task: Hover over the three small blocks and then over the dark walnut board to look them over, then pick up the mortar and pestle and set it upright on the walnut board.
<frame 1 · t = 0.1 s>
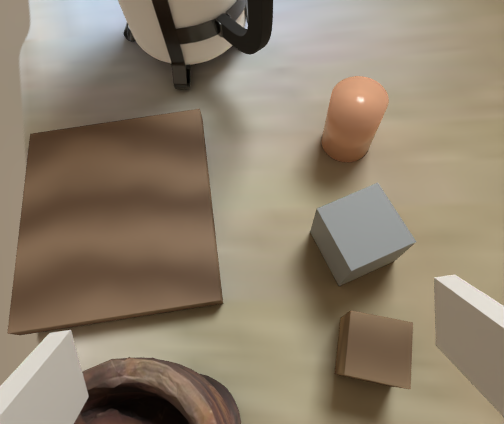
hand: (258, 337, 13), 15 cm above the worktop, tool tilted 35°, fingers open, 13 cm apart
walnut board: (121, 214, 32), on the worktop
slate grey cube: (351, 246, 30), on the worktop
dark oak block: (364, 350, 27), on the worktop
coffee press: (203, 44, 40), on the worktop
terracotta capsule: (345, 141, 34), on the worktop
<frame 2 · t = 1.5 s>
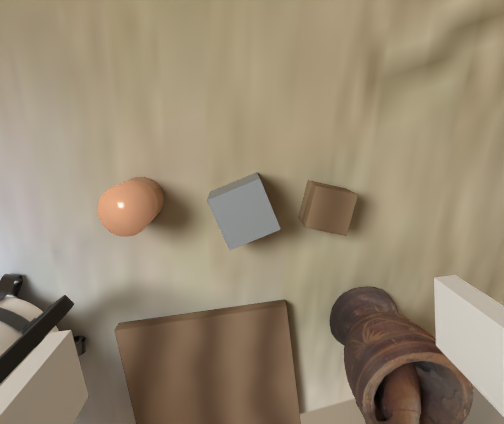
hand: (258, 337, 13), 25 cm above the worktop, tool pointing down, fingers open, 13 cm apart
walnut board: (213, 375, 41), on the worktop
slate grey cube: (243, 204, 38), on the worktop
dark oak block: (321, 203, 38), on the worktop
coffee press: (24, 326, 39), on the worktop
mortar and pestle: (359, 329, 41), on the worktop
terracotta capsule: (141, 198, 37), on the worktop
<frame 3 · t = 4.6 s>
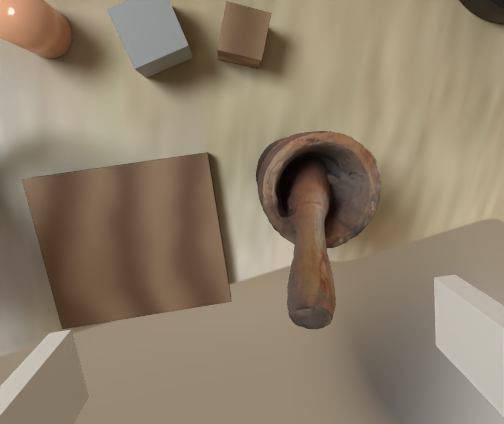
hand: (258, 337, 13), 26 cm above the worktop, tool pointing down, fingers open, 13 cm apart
walnut board: (135, 239, 39), on the worktop
slate grey cube: (158, 42, 36), on the worktop
dark oak block: (241, 43, 36), on the worktop
mortar and pestle: (289, 188, 39), on the worktop
terracotta capsule: (47, 33, 35), on the worktop
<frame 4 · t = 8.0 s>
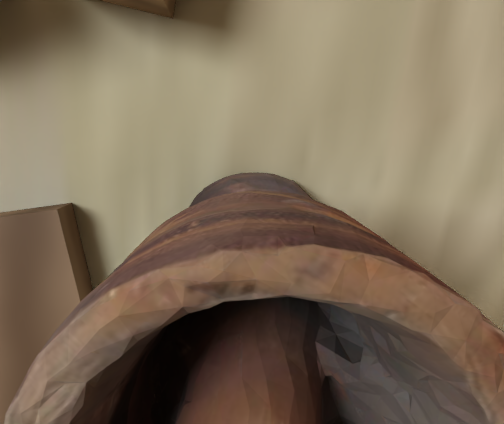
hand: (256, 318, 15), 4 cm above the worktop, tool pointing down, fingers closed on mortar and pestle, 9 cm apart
mortar and pestle: (251, 275, 19), on the worktop, touching gripper
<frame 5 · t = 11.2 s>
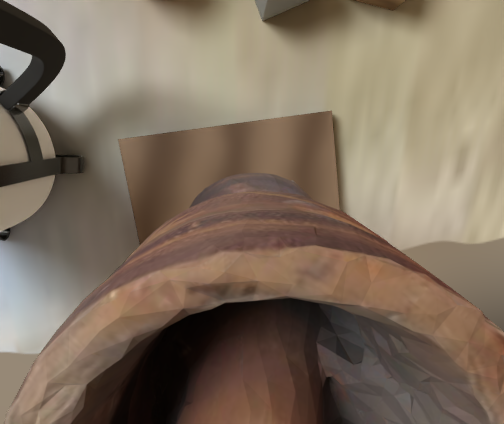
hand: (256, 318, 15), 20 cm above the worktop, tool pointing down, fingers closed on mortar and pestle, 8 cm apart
walnut board: (238, 213, 34), on the worktop
coffee press: (8, 142, 32), on the worktop
mortar and pestle: (251, 275, 19), point 15 cm above the worktop, touching gripper
when the fingers open (7 cm above the worktop, at t = 14.5 s): mortar and pestle drops 1 cm, resting on walnut board.
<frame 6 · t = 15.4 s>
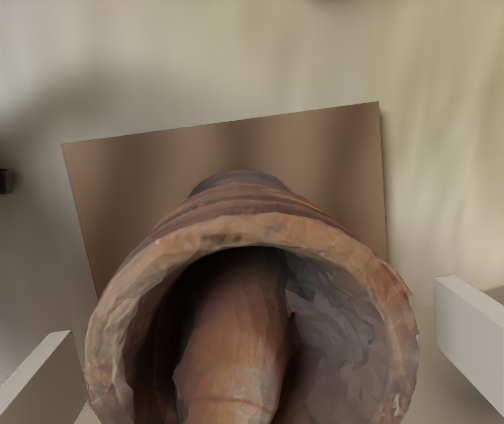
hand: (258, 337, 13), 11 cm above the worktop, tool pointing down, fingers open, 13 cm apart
walnut board: (240, 249, 24), on the worktop
mortar and pestle: (239, 255, 23), point 1 cm above the worktop, touching walnut board
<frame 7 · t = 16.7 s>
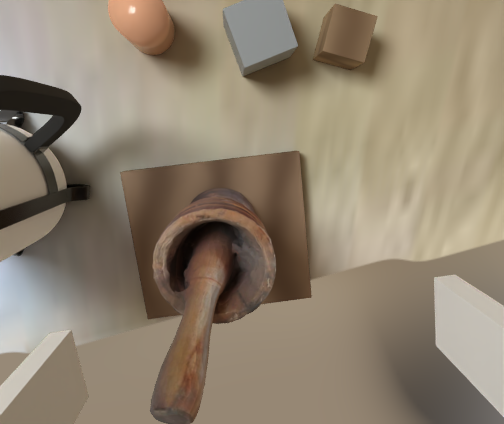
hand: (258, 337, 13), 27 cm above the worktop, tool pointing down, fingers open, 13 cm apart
walnut board: (221, 234, 40), on the worktop
slate grey cube: (256, 42, 36), on the worktop
dark oak block: (337, 44, 37), on the worktop
coffee press: (24, 172, 38), on the worktop
mortar and pestle: (219, 237, 39), point 1 cm above the worktop, touching walnut board
terracotta capsule: (151, 30, 35), on the worktop
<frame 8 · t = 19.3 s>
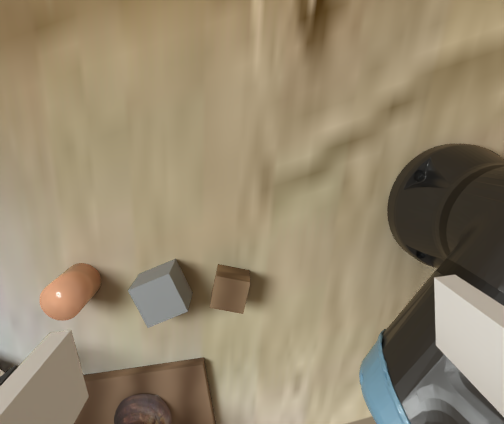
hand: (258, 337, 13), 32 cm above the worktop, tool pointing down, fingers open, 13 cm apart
walnut board: (147, 418, 50), on the worktop
slate grey cube: (166, 283, 46), on the worktop
dark oak block: (230, 281, 47), on the worktop
terracotta capsule: (83, 280, 46), on the worktop
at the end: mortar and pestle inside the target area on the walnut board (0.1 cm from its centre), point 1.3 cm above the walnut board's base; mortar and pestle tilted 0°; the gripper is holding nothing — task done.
